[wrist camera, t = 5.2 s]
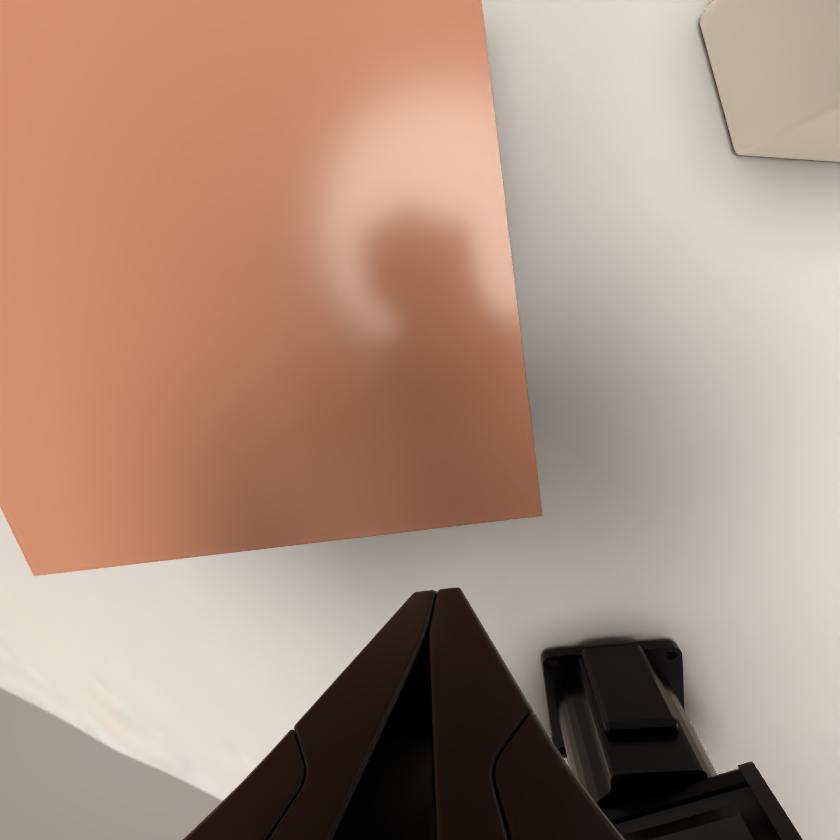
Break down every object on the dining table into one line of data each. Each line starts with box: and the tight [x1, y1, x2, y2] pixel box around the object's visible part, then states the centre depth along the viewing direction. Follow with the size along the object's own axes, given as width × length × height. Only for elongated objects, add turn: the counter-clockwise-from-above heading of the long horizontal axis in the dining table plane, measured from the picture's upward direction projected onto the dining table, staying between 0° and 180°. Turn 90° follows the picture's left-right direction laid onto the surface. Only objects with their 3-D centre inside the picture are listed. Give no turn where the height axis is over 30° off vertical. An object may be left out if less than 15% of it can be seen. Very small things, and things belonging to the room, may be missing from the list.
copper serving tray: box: [0, 0, 542, 576], centre depth 14 cm, size 16×18×1 cm
